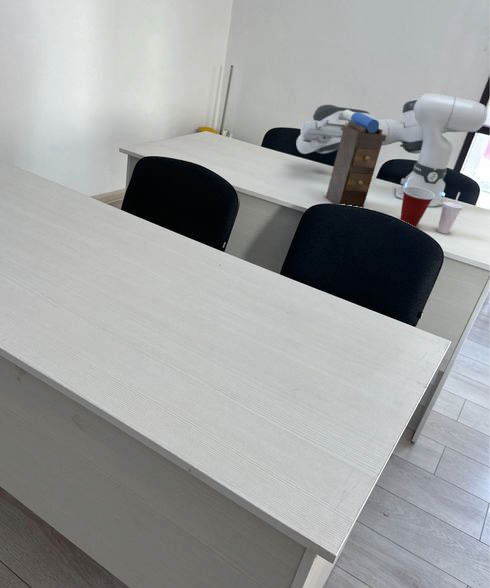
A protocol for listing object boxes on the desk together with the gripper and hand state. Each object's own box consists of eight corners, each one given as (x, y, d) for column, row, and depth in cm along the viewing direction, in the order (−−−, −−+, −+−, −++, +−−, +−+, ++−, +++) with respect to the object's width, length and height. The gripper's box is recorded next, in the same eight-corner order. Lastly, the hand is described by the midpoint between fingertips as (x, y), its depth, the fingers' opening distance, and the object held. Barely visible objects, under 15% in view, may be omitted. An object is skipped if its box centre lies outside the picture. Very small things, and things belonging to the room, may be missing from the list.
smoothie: (453, 236, 198) (469, 196, 191) (434, 232, 199) (449, 192, 192) (450, 230, 204) (465, 191, 197) (432, 226, 205) (446, 187, 197)
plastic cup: (391, 225, 199) (402, 191, 193) (393, 216, 208) (403, 183, 202) (423, 233, 197) (436, 198, 190) (423, 224, 206) (435, 191, 199)
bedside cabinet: (324, 196, 218) (343, 119, 203) (349, 198, 221) (371, 122, 206) (340, 209, 206) (362, 129, 192) (367, 211, 210) (390, 132, 195)
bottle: (339, 119, 212) (342, 106, 210) (350, 120, 213) (353, 108, 211) (365, 132, 196) (369, 119, 194) (376, 133, 197) (380, 120, 195)
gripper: (343, 144, 234) (362, 133, 221) (297, 139, 228) (314, 128, 215) (343, 128, 233) (362, 116, 220) (297, 123, 227) (314, 111, 214)
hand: (338, 122), depth 217 cm, fingers open, 8 cm apart
